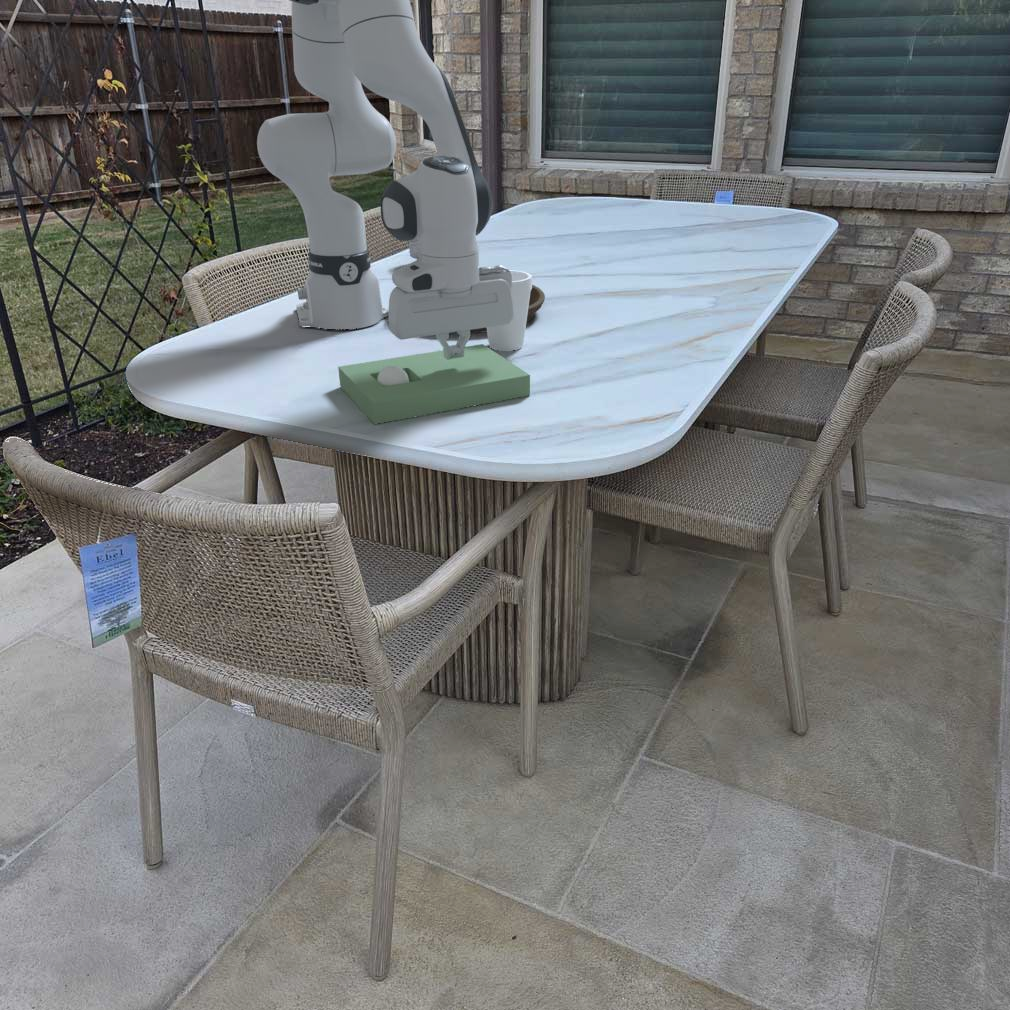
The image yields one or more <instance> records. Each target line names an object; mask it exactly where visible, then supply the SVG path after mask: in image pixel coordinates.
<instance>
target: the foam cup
mask: <svg viewBox="0 0 1010 1010" xmlns="http://www.w3.org/2000/svg"><path fill="white" fill-rule="evenodd" d="M508 270H509V269H508ZM509 271H510V272H511V275H512V287H511V295H512V302H513V312H514V317H513V319H512V321H511V322H510V324H506V325H499V326H492V327H486V328H487V332H486V335H487V341H488V345H489V346H490V347H489V349H491V348H492V349H491V350H493V349H494V351H497V350H498V351H497V352H513V350H515V351H519V350H520V348H521V349H523V347H524V343H525V335H526V328H527V322H528V321H527V314H528V307H529V299H530V292H531V290H532V285H533V275H532V274H531V273H530V272H526V271H523V270H513V269H512V270H511V269H510V270H509ZM503 272H506V271H505V270H504V271H503ZM526 321H527V322H526ZM518 349H519V350H518Z"/></svg>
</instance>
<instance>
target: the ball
mask: <svg viewBox="0 0 1010 1010" xmlns="http://www.w3.org/2000/svg"><path fill="white" fill-rule="evenodd" d="M377 381H378V382H379V383H380V384H381V385H382V386H389V385H395V384H401V383H407V382H409V378H408V375H407V373H406V372H405V371H404V370H403V369H402V368H400V367H398V366H388V367H386V368H384V369H383V370H381V372H380V373H379V375H378V378H377Z"/></svg>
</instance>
